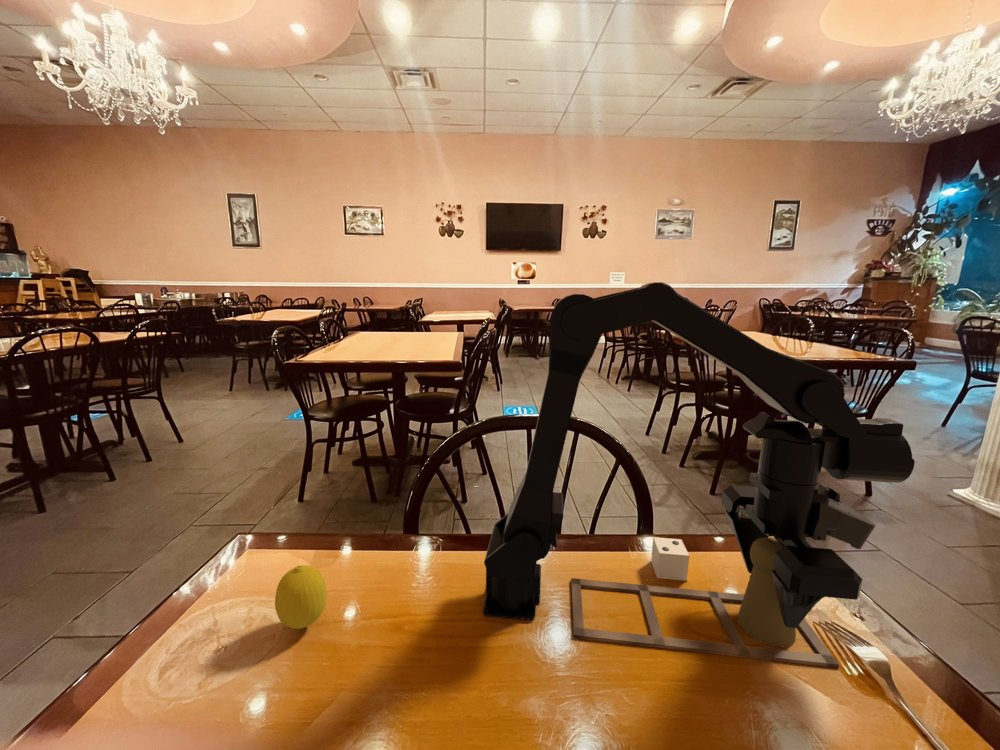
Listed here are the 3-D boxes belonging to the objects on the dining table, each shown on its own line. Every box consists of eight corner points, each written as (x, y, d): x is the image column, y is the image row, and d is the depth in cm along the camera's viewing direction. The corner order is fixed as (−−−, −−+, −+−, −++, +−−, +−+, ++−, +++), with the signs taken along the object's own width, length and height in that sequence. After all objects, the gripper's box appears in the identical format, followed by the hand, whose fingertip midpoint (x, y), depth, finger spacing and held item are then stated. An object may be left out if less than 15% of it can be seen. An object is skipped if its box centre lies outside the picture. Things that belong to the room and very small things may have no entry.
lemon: (337, 626, 51) (333, 566, 50) (289, 654, 47) (283, 589, 46) (316, 603, 55) (312, 546, 53) (270, 627, 51) (264, 567, 49)
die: (657, 578, 60) (659, 552, 60) (651, 561, 64) (653, 536, 63) (686, 581, 60) (689, 555, 59) (679, 563, 64) (681, 539, 63)
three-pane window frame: (573, 638, 50) (574, 634, 50) (571, 580, 60) (571, 578, 59) (838, 667, 46) (839, 664, 46) (788, 601, 56) (789, 598, 56)
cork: (805, 651, 48) (820, 563, 46) (747, 642, 49) (759, 556, 47) (782, 612, 54) (794, 533, 52) (730, 605, 55) (740, 527, 53)
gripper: (941, 524, 38) (907, 673, 41) (816, 449, 56) (799, 556, 59) (804, 514, 39) (782, 659, 42) (726, 444, 57) (714, 549, 60)
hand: (769, 597), depth 51 cm, fingers open, 9 cm apart
